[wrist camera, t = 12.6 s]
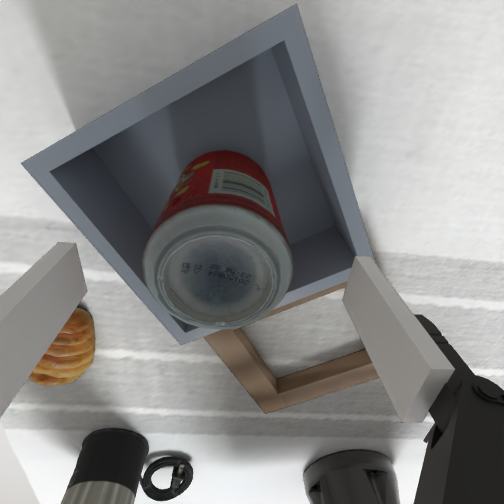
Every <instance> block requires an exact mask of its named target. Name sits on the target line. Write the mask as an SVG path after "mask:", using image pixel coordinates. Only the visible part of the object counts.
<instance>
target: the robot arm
mask: <svg viewBox="0 0 504 504" xmlns="http://www.w3.org/2000/svg"><path fill="white" fill-rule="evenodd" d="M86 293H87V288H86V283H85V279H84V275H83V271H82V266H81V262H80V258H79V254H78V249H77V245H76V243H66V242H58V243H57V244H56V245H55V246H54V247H53V248H51V249H50V250H49V251H48V252H47V253H46V254H45V255H44V256H43V257H42V258H41V259H40V260H39V261H38V262H36V263H35V264H34V265H33V266H32V267H31V268H30V269H29V270H28V271H27V272H26V273H25V274H24V275H23V276H21V277H20V278H19V279H18V280H17V281H16V282H15V283H14V284H13V285H12V286H11V287H10V288H9V289H8V290H6V291H5V292H4V293H3V294H2V295H1V296H0V418H1V416H2V415H3V413H4V412H5V410H6V409H7V408H8V406H9V405H10V403H11V402H12V400H13V399H14V397H15V396H16V394H17V393H18V392H19V390H20V389H21V387H22V386H23V384H24V383H25V381H26V380H27V378H28V377H29V376H30V374H31V373H32V371H33V370H34V368H35V367H36V365H37V364H38V363H39V361H40V360H41V358H42V357H43V355H44V354H45V352H46V351H47V349H48V348H49V347H50V345H51V344H52V342H53V341H54V339H55V338H56V336H57V335H58V333H59V332H60V331H61V329H62V328H63V326H64V325H65V323H66V322H67V320H68V319H69V317H70V316H71V315H72V313H73V312H74V310H75V309H76V307H77V306H78V304H79V303H80V301H81V300H82V299H83V297H84V296H85V294H86ZM342 301H343V303H344V305H345V307H346V309H347V311H348V313H349V315H350V317H351V319H352V321H353V324H354V326H355V328H356V330H357V332H358V334H359V336H360V338H361V340H362V342H363V344H364V346H365V348H366V351H367V353H368V355H369V357H370V359H371V361H372V363H373V365H374V367H375V369H376V371H377V373H378V375H379V377H380V380H381V382H382V384H383V386H384V388H385V390H386V392H387V394H388V396H389V398H390V400H391V402H392V404H393V407H394V409H395V411H396V413H397V415H398V417H399V419H400V421H401V423H418V422H423V420H424V419H425V417H426V416H427V414H428V412H429V413H430V414H431V416H432V418H433V420H434V421H435V423H434V425H433V426H432V428H431V429H430V431H429V432H428V434H427V436H426V437H425V439H424V440H423V441H424V442H426V443H427V442H428V445H427V449H426V453H425V458H424V462H423V466H422V470H421V475H420V479H419V483H418V487H417V492H416V496H415V500H414V504H504V390H503V389H501V388H500V387H499V386H498V385H497V384H495V383H493V382H492V381H490V380H488V379H486V378H483V377H480V376H476V375H474V373H473V372H472V371H471V370H470V368H469V367H468V366H467V365H466V363H465V362H464V361H463V360H462V358H461V357H460V356H459V355H458V353H457V352H456V351H455V350H454V349H453V347H452V346H451V345H450V344H448V341H447V340H446V339H445V337H444V336H442V334H441V332H440V331H439V330H438V329H437V327H436V326H435V325H434V324H433V323H432V322H431V321H429V320H428V319H427V318H425V317H424V316H423V315H414V314H413V313H412V312H411V310H410V309H409V308H408V306H407V305H406V304H405V302H404V301H403V300H402V298H401V297H400V296H399V294H398V293H397V292H396V290H395V289H394V288H393V286H392V285H391V284H390V282H389V281H388V280H387V278H386V277H385V276H384V274H383V273H382V272H381V270H380V269H379V268H378V266H377V265H376V264H375V262H374V261H373V260H372V259H371V257H366V256H355V258H354V261H353V265H352V268H351V272H350V275H349V278H348V282H347V285H346V289H345V292H344V296H343V299H342ZM428 440H429V441H428ZM303 479H304V485H305V491H306V495H307V498H308V500H309V502H310V504H400V499H399V491H398V482H397V477H396V474H395V471H394V469H393V466H392V464H391V461H390V460H389V459H388V458H387V457H386V456H384V455H382V454H380V453H377V452H372V451H363V450H357V451H346V452H341V453H336V454H333V455H330V456H327V457H324V458H322V459H320V460H318V461H316V462H315V463H313V464H312V465H311V466H310V467H309V468H308V469H307V470H306V471H305V473H304V476H303Z"/></svg>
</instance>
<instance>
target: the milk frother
mask: <svg viewBox="0 0 504 504" xmlns="http://www.w3.org/2000/svg"><path fill="white" fill-rule="evenodd" d="M148 452H149V445H148V443H147V442H146V440H145V439H144V438H143V437H141V436H140V435H138V434H136V433H133V432H130V431H126V430H120V429H104V430H99V431H96V432H93V433H91V434H89V435H88V436H87V437H86V438H85V439H84V441H83V444H82V450H81V452H80V455H79V457H78V460H77V465H76V468H75V470H74V473H73V475H72V477H71V479H70V482H69V485H68V487H67V490H66V493H65V495H64V497H63V500H62V502H61V504H134V501H135V497H136V492H137V488H138V484H139V481H140V484H141V486H142V489H143V491H144V492H145V493H146V495H147V496H148V497H150V498H151V499H153V500H156V501H167V500H170V499H173V498H175V497H177V496H178V495H180V494H182V493H183V492H184V491H185V490H186V489H187V488H188V487H189V485H190V484H191V482H192V479H193V468H192V466H191V464H190V463H188V462H187V461H186V460H184V459H181V458H178V457H163V458H160V459H158V460H156V461H154V462H153V463H152V464H151V465H150V466H149V467H148V468H147V470H146V471H145V473H144V477H143V479H142V477H141V472H142V469H143V465H144V461H145V458H146V456H147V454H148ZM166 466H174V469H173V473H172V480H171V485H170V488H168V489H163V490H162V489H158V488H156V487H155V486H154V485H153V484H152V481H151V476H152V475H153V473H154V472H155V471H157V470H158V469H160V468H163V467H166ZM182 480H183V481H182ZM181 481H182V483H181V484H180V482H181Z"/></svg>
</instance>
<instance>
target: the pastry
mask: <svg viewBox="0 0 504 504" xmlns="http://www.w3.org/2000/svg"><path fill="white" fill-rule="evenodd" d="M94 352H95V332H94V322H93V320H92V318H91V316H90V314H89V312H88V311H85V310H84V309H80V308H77V307H76V309H75V310H74V312H73V313H72V315H71V316H70V317H69V319H68V320H67V322H66V323H65V325H64V326H63V328H62V329H61V331H60V332H59V333H58V335H57V336H56V338H55V339H54V341H53V342H52V344H51V345H50V347H49V348H48V349H47V351H46V352H45V354H44V355H43V357H42V358H41V360H40V361H39V363H38V364H37V365H36V367H35V368H34V370H33V371H32V373H31V374H30V376H29V379H30V380H32V381H34V382H35V383H38V384H41V385H45V386H53V385H57V384H58V385H65V384H67V383H70V382H72V381H74V380H76V379H77V378H79V377H80V376H81V375H82V374H83V373H84V372H85V370H86V369H87V368H88V367H89V366H90V365H91V364H92V362H93V358H94Z"/></svg>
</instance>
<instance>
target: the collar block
mask: <svg viewBox="0 0 504 504" xmlns="http://www.w3.org/2000/svg"><path fill="white" fill-rule="evenodd" d="M347 282H348V281H346V282H343V283H341V284H338V285H336V286H333V287H330V288H328V289H325V290H323V291H320V292H317V293H315V294H312V295H310V296H307V297H305V298H302V299H299V300H297V301H294V302H292V303H289V304H286V305H284V306H281V307H279V308H276V309H274V310H272V311H271V312H270V313H269V314H267V315H266V316H264V317H262V318H260V319H259V320H261V319H264V318H266V317H269V316H271V315H274V314H277V313H279V312H282V311H284V310H287V309H290V308H292V307H295V306H297V305H300V304H303V303H305V302H308V301H310V300H313V299H316V298H318V297H321V296H323V295H326V294H329V293H331V292H334V291H336V290H339V289H342V288H344V287H346V285H347ZM257 321H258V320H257ZM250 324H251V323H250ZM242 327H243V326H242ZM204 338H205V340H206V341H207V342H208V343H209V344H210V346H211V347H212V348H213V349H214V351H215V352H216V353H217V354H218V356H219V357H220V358H221V359H222V361H223V362H224V363H225V364H226V366H227V367H228V368H229V369H230V371H231V372H232V373H233V374H234V376H235V377H236V378H237V379H238V381H239V382H240V383H241V384H242V386H243V387H244V388H245V389H246V391H247V392H248V393H249V394H250V395H251V397H252V398H253V399H254V400H255V402H256V403H257V404H258V405H259V407H260V408H261V409H262V410H263V412H264V413H265V414H267V413H270V412H274V411H277V410H280V409H283V408H286V407H289V406H292V405H295V404H298V403H302V402H305V401H308V400H311V399H314V398H317V397H320V396H323V395H327V394H330V393H333V392H336V391H339V390H342V389H345V388H348V387H352V386H355V385H358V384H361V383H364V382H367V381H370V380H373V379H376V378H380V377H379V375H378V373H377V371H376V369H375V367H374V365H373V363H372V361H371V359H370V357H369V355H368V353H367V351H366V349H364V350H361V351H359V352H356V353H353V354H350V355H347V356H344V357H341V358H338V359H335V360H332V361H329V362H326V363H323V364H320V365H317V366H315V367H312V368H309V369H306V370H303V371H300V372H297V373H294V374H291V375H288V376H285V377H282V378H279V379H275V377H274V376H273V374H272V373H271V371H270V370H269V369H268V367H267V366H266V364H265V363H264V361H263V360H262V358H261V357H260V356H259V354H258V353H257V351H256V350H255V348H254V347H253V345H252V344H251V343H250V341H249V340H248V338H247V337H246V335H245V334H244V333H243V331H242V330H241V328H240V327H237V328H232V329H222V330H219V331H217V332H214V333H212V334H209V335H206V336H204Z"/></svg>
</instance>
